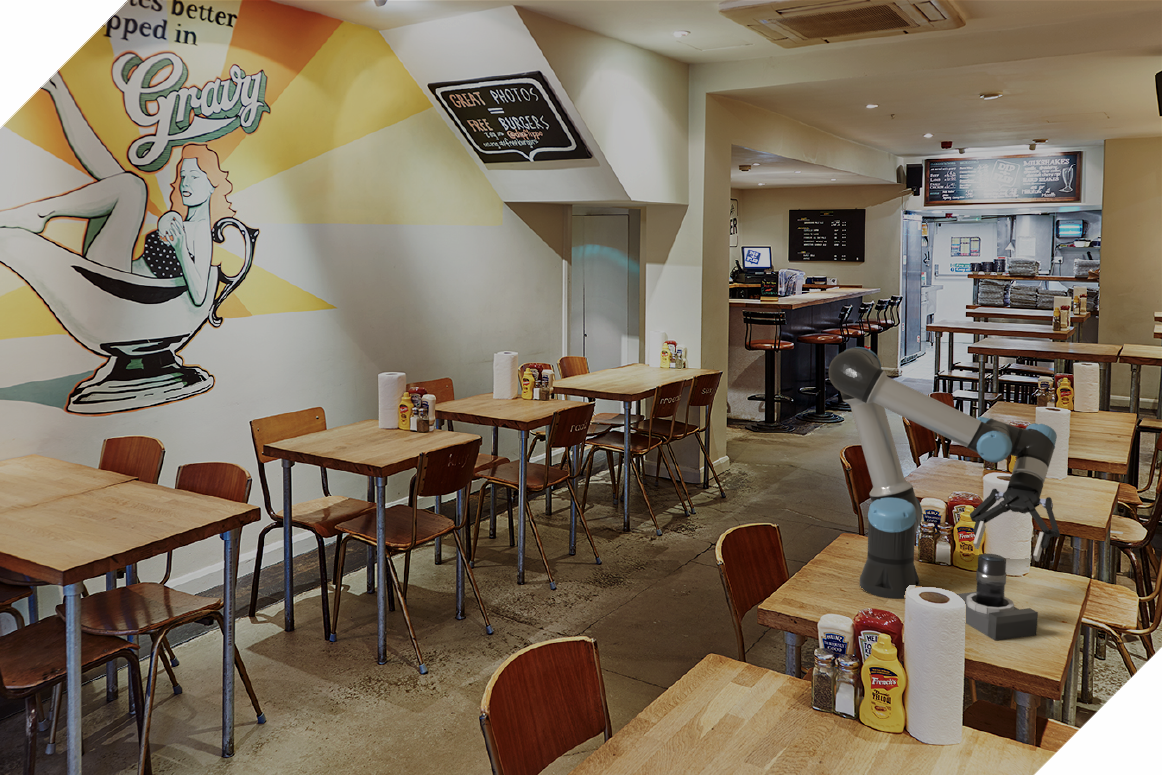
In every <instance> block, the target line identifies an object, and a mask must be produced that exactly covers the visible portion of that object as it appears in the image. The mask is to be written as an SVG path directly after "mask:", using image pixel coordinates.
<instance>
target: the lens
mask: <svg viewBox="0 0 1162 775" xmlns="http://www.w3.org/2000/svg"><path fill="white" fill-rule="evenodd" d="M1006 568H1007V558H1005V557H1004V556H1001V555H1000V554H995V553H983V554H981V553H980V554H979V555H978V556H977V568H976V574H975V575H976V576H975V581H976V590H975V592H976V603H978V604H981V605H984V606H988V607H1004V597H1005V591H1006V590H1005V587H1006V584H1007V572H1006V571H1007V570H1006Z"/></svg>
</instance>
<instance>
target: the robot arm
mask: <svg viewBox="0 0 1162 775" xmlns="http://www.w3.org/2000/svg"><path fill="white" fill-rule="evenodd" d="M828 377H829V381H830V383H831V384H832V385H833V387H834V388H835V389H836V390H838V391H839V392H840V394H841V398H842V401H843V402H844V403H846V404H848V405H849V406H850V409H851V413H852V417H853V420H854V424H855V427H856V430H857V434H858V435H857V436H858V437H859V441H860V445H861V448H862V451H863V455H864V459H865V462H866V466H867V470H868V474H869V476H870V480H871V484H872V489H871V491H870V492H869V497H870V500H871V503H870V505H869V507H868V513H867V518H868V529H867V530H868V532H867V557H866V561H865V563H864V565H863V568H862V572H861V574H860V575H859V576H860V577H859V587H860V586H861V588H863V589H864V590H865V591H867V592H869V593H871V594H870V595H872V594H873V596H875V595H876V597H880V598H885V599H895V600H899V599H900V600H903V599H904V595H905V591H906V588H907V587H908V586H909V585H916V586H920V587H921V583H920V580H919V576H918V572H917V569H916V566H915V563H914V562H915V540H916V533H917V531H918V529H919V526H920V525H921V522H922V519H923V508H922V504H921V502H920V501H919V499H918V498H917V497H916V494H915V490H914V487H913V484H912V483H911V482H908V481H907V480H906V478H905V476H904V472H903V469H902V466H901V462H900V459H899V455H898V451H897V448H896V444H895V441H894V438H893V433H892V430H891V427H890V423H889V420H888V417H887V416H888V415H887V412H886V409H887V410H888V411H890V412H893V413H895V414H897V415H899V416H901V417H903V418H905V419H907V420H909V421H912V422H913V423H915V424H917V425H919V426H921V427H924V428H925V429H927V430H930V431H932V432H935V433H936V434H938V435H939V436H942V437H945V438H947V439H949V440H950V441H953V442H954V443H957V444H959V445H961V446H963V447H966V448H967V449H969V450H971V451H973V452H975V453H976V454H978V455H979V456H980V457H981V458H982V459H983V460H985V461H986V462H989V463H1000V462H1002V461H1004V460H1006V459H1007V458H1008V456H1012V457H1013V456H1014V457H1016V459H1015V461H1014V462H1015V463H1014V465H1013V469H1012V472H1011V476H1010V479H1009V482H1008V485H1007V488H1006V490H1005V491H1004V492H1002V491H998V489H997V488H992V490H991V492H990V494H988V496H987V497H986V498H985V499H984V500H983V501H982V502H981V503H980V504H979V505H978V506H976V508H974V510H973V511H971V512H970V513H969V517H970V519H971V521H972V522H973V523H974V522H975V524H974V527H973V529H972V531H973V534H974V535H975V536H974V540H973V546H974V549H976V550H979V548H980V546H981V543H982V540H983V536H984V534H985V531H986V525H985V524H987V523H988V522H990V521H992V520H994V518H997V517H998V516H1001V514H1004V513H1007V512H1009V511H1011V512H1013V513H1021V514H1025V515H1026V514H1027V513H1029V514H1030V515H1031V517H1032V518H1033V520H1034V521H1035V523H1036V524H1037V526H1038V527H1039V528H1040V531H1039V533H1038V537H1037V542H1036V545H1035V546H1034V547H1035V548H1034V551H1033V555H1032V556H1033V559H1034V561H1036V562H1040V557H1041V554H1042V551H1043V549H1047V548H1048V547H1049V543H1050V539H1051V538H1053V537H1055V538H1060V536H1061V533H1060V529H1059V527H1058V524H1057V521H1056V517H1055V514H1054V512H1053V509H1054V508H1053V506H1054V504H1053V500H1052V498H1051V497H1050V496H1048V497H1046V498H1041V495H1042V492H1043V487H1044V484H1045V481H1046V478H1047V474H1048V472H1049V467H1050V464H1051V461H1052V458H1053V454H1054V451H1055V448H1056V442H1057V436H1058V435H1057V432H1056V431H1055V430H1054V429H1053V427H1051V426H1049V425H1047V424H1043V423H1030V424H1029V425H1027V426H1026V428H1022V427H1018V426H1014V425H1012V424H1009V423H1006V422H1002V421H1000V420H996V419H994V418H989V417H984V416H978V417H973V416H971V415H969V414H968V413H965V412H963V411H961V410H959V409H956V408H954V407H952V406H950V405H948V404H946V403H944V402H942V401H939V400H937V399H935V398H933V397H931V396H930V395H926V394H925V393H923V392H920V391H919V390H917V389H914V388H912V387H910V386H908V385H906V384H904V383H901V382H899V381H897V380H895V379H893V378H891V377H889V376H888V375H887V373H886V370H884V369H882V364H881V361H880V359H879V357H878V356H877V353H875V352H874V351H873V350H871V349H869V348H866V347H862V346H861V347H860V346H856V347H849V348H847V349H845V350H844V351H842V352H840V353H838V354H837V355H835V357H834V358H833V359H832V360H831V362H830V363H829V366H828ZM1000 499H1002V500H1001V501H1000ZM997 501H1000V502H999V503H998V504H996V502H997ZM995 504H996V505H995ZM1040 505H1042V507H1043V508H1044V509H1045V510H1046V513H1047V514H1046V515H1047V516H1048V520H1049V522H1050V525H1051V528H1052V529H1051V528H1049V527H1048V526H1047V524H1046V522H1045V521H1044V519H1043V518H1042V517H1041V515H1040V514H1039V512H1038V511H1037V509H1036V508H1037V507H1039V506H1040ZM861 588H860V589H861ZM864 590H863V591H864ZM865 591H864V592H865ZM867 592H866V593H867ZM869 593H868V594H869ZM904 600H905V599H904Z"/></svg>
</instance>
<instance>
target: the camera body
mask: <svg viewBox="0 0 1162 775" xmlns="http://www.w3.org/2000/svg"><path fill="white" fill-rule="evenodd" d="M956 594H957V595H959V596H960V597H961V598H962V599H963V600H964V601H965V604H966V623H965V624H966V625H968V626H970V627H972V628H974V629H975V630H977V631H978V632H980V633H982V634H984V636H987V637H988V638H990V639H992V640H994V641H1003V640H1011V639H1020V638H1027V637H1034V636H1035V637H1036V636H1037V634H1038V633H1037V632H1038V618H1039V617H1038V615H1039V612H1038V611H1036V610H1034V609H1032V608H1030V607H1029V608H1021V609H1019V608H1017V607H1016V606H1015V603H1014V601H1013V600H1012V599H1010V598H1008V597H1006V596H1004V607H988V606H984V605H981V604H978V603H976V591H971V592H961V593H956Z"/></svg>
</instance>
